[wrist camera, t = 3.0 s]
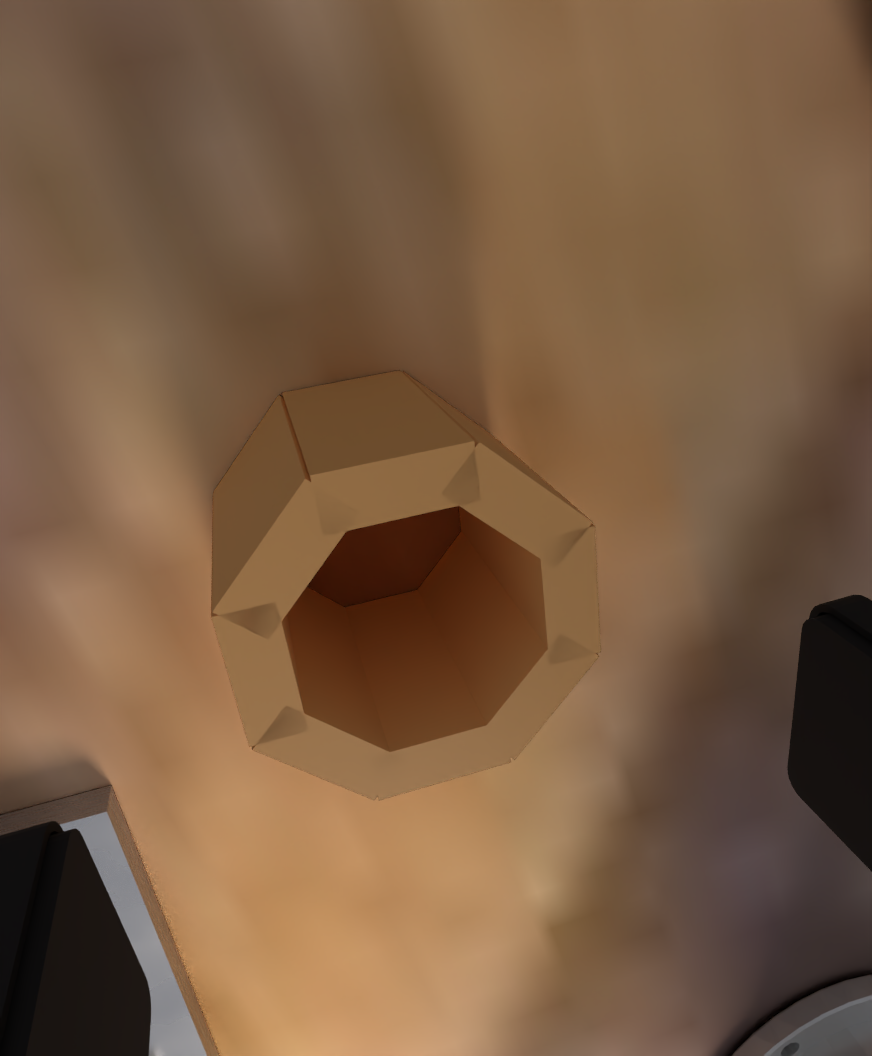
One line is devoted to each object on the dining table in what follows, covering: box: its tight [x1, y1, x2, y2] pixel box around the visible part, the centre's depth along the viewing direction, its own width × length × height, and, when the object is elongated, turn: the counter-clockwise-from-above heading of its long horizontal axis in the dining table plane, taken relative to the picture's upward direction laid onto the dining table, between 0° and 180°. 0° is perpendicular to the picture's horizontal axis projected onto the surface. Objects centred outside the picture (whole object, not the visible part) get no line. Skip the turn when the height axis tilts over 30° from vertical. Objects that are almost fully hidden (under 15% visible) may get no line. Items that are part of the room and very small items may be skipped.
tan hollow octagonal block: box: [211, 370, 601, 800], centre depth 17 cm, size 7×7×6 cm
